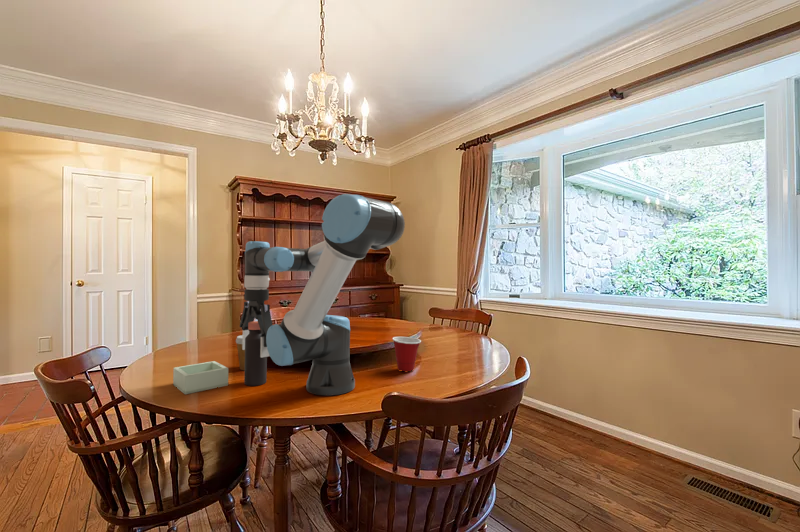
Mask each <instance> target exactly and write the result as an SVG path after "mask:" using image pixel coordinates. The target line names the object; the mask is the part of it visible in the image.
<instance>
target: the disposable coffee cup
mask: <svg viewBox="0 0 800 532" xmlns="http://www.w3.org/2000/svg"><path fill="white" fill-rule="evenodd" d="M242 342H243V334H242V335H238V336H236V339H235V343H236V348H237V357H238V364H239V365H238V366H239V370H241V371H245V350H242Z"/></svg>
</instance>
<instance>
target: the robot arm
mask: <svg viewBox="0 0 800 532" xmlns="http://www.w3.org/2000/svg"><path fill="white" fill-rule="evenodd" d="M404 217H405V216H404V214H403V213H402V211H401V209H399V208H398V207H397V205H395V204H394V203H391V202H390V201H386V200H379V199H374V198H372V197H365V196H363V195H360V194H350V193H349V194H348V193H343V194H339V195H337V196H335V197H334V198H332V199H331V200H330V202H328V204H327V205H326V207H325V209H324V211H323V214H322V217H321V220H322V221H323V222H322V223H321V229H322V232H323V234H324V235H323V241H321V242H319V243H316V244H314V245H312V246H309V247H307V248H292V247H283V246H273V247H272V246H271V245H270V243H269V242H268V241H256V240H254V241H252V240H250V241H247V242H246V244H245V251H244V279H243V280H244V285H243V287H244V288H245V289H244V290H243V291H244V294H243V295H244V296H243V298H244V300H245V301H244V302H243V310H242V314H241V317H240V322H239V328H241V330H242V335H243V342H242V350H245V338H246V336H247V335H248V334H249V331H248V330H249V329H248V323H249V322H253V321H255V320H256V321H258V324H259V327H260V330H261V333H262V334H261V336H260V337H261V350H260V357H261V358H262V357H267V358H268V357H270V359H271V360H272V362H273V363H275V365H278V366H281V367H283V366H292V365H294V364H299V363H304V362H309V361H311V360H312V362H311V363H312V365H311V367H310V371H309V373H308V376H307V377H308V378H307V380H306V384H305V385H306V388H305V389H306V391H307V392H308V393H310V394H313V395H318V396H337V395H343V394H346V393H349V392H351V391H354V389H355V387H356V379H355V377H354V373H353V369H352V366H351V363H350V360H351V359H350V353H351V352H350V351H351V350H350V349H351V331H352V330H351V325H350V324H351V323H350V319H349V318H348V317H346V316H342V315H332V314H328V312H329V310H330V309H331V307H332V305H333V303H334V302H335V300H336V298H337V296H338V295H339V293H340V291H341V288H343V285H344V283H345V281H346V280H347V278H348V276H349V275H350V273H351V270H352V269H353V267H354V265H355V264H356V262H357V261H359V260H362V259H364V258H366V256H367V254H368V252H369V251H370V250H375V251H376V250H381V249H384V248H387V247H389V246H392V245H394V244H396V243H397V242H398V241H399V240H400V239H401V238H402V236H403V234H404V232H405V225H406V224H405V223H406V222H405V221H406V220H405V218H404ZM270 246H271V247H270ZM270 272H275V273H282V272H283V273H284V272H311V273H310V274H311V275H310V276H309V279H308V281H307V283H306V284H305V287H304V289H303V290H302V293H301V295H300V297H299V299H298V301H297V303H296V305H295V307H294V309H291V310H289V311H287V312H286V313H285V315H284V316H283V318H282V320H281V322H280V323H279V324H278V323H275V324H273V321H272V315H271V308H270V304H265V302H266V301H268V300H269V299H270V298H269V296H270V290H269V286H270V281H271V278H270Z"/></svg>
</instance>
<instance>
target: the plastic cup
mask: <svg viewBox="0 0 800 532" xmlns="http://www.w3.org/2000/svg"><path fill="white" fill-rule="evenodd" d="M392 341H393V344H394V345H393V346H394V347H393V348H394V351H395V352H394V353H395V360H396V362H397V363H396V366H397V370H398V369H399V370H402V371H411V370H413V369H415V363H416V360H417V356H418V349H419V346H420V344H421V342H422V340H421V339H419V338H415V337H411V336H393V337H392ZM413 371H414V370H413Z"/></svg>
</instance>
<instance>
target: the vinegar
mask: <svg viewBox="0 0 800 532" xmlns="http://www.w3.org/2000/svg"><path fill="white" fill-rule="evenodd" d="M248 329H249V330H248V331H249V334H248V335H247V336H246V338H245V370H244V377H243V378H244V380H243V381H244V385H246V386H250V387H256V386H257V387H258V386H261V385H264V384H266V383H267V373H268V372H267V370H268V369H267V368H268V367H267V365H268V364H267V363H268V357H262V358H261V357H260V350H261V337H260V336H261V334H262V333H261V330H260V327H259V324H258V321H257V320H256V321H255V320H254V321H253V322H249V323H248Z"/></svg>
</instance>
